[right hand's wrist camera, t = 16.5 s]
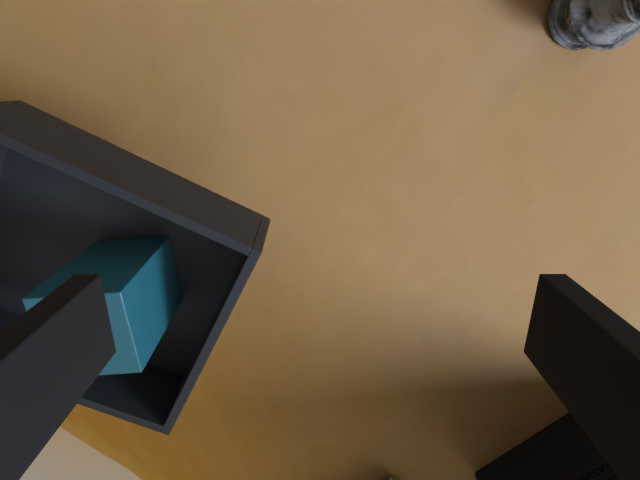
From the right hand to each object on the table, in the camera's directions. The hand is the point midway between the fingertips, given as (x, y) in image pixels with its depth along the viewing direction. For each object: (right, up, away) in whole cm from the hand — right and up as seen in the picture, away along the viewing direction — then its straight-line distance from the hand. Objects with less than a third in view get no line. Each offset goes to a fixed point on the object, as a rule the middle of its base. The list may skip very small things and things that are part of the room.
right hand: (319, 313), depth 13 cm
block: (-13, 0, +17) cm, 21 cm away
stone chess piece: (+20, +20, +20) cm, 35 cm away
